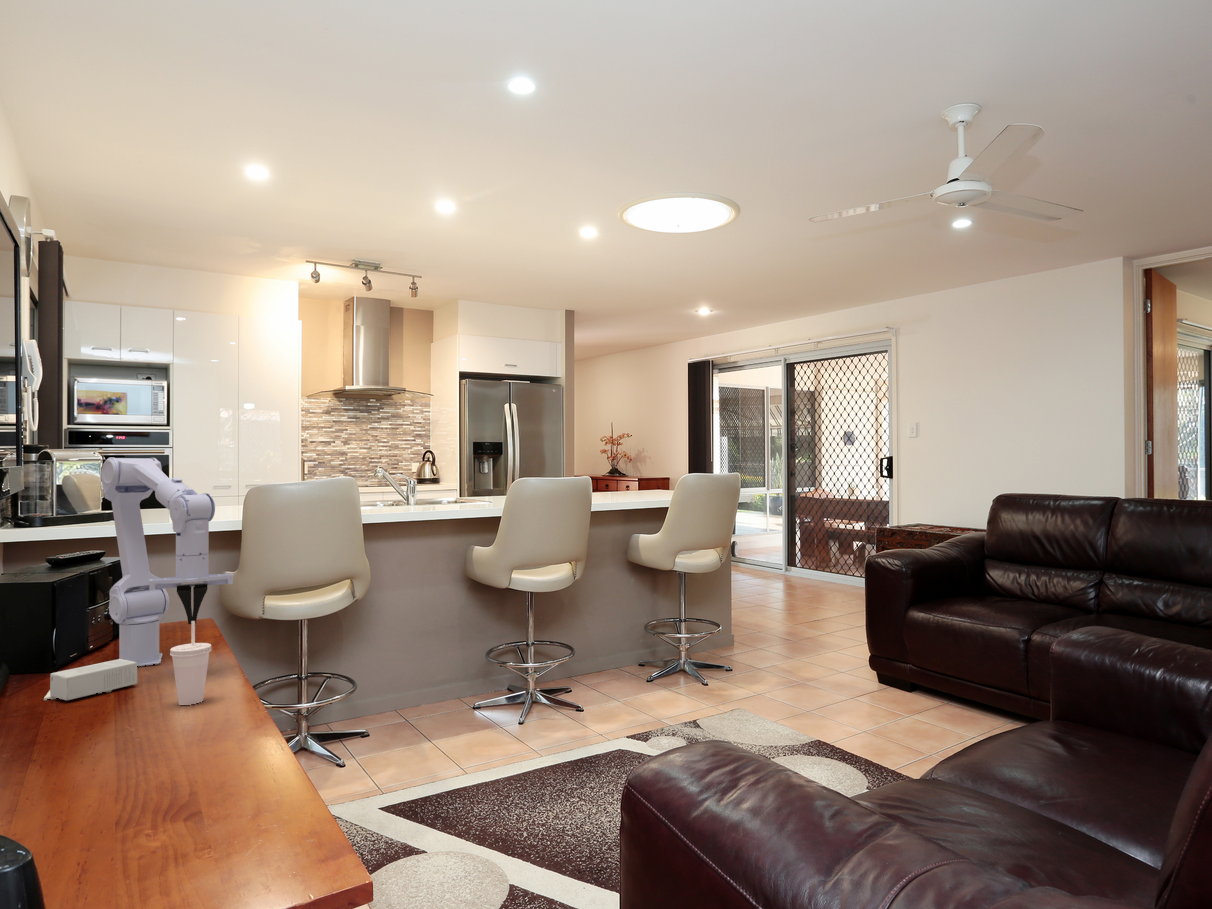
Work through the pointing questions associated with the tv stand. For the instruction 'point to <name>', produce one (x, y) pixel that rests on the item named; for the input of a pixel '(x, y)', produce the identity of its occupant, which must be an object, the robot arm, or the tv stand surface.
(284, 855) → the tv stand surface
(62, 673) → the skincare box
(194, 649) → the smoothie
